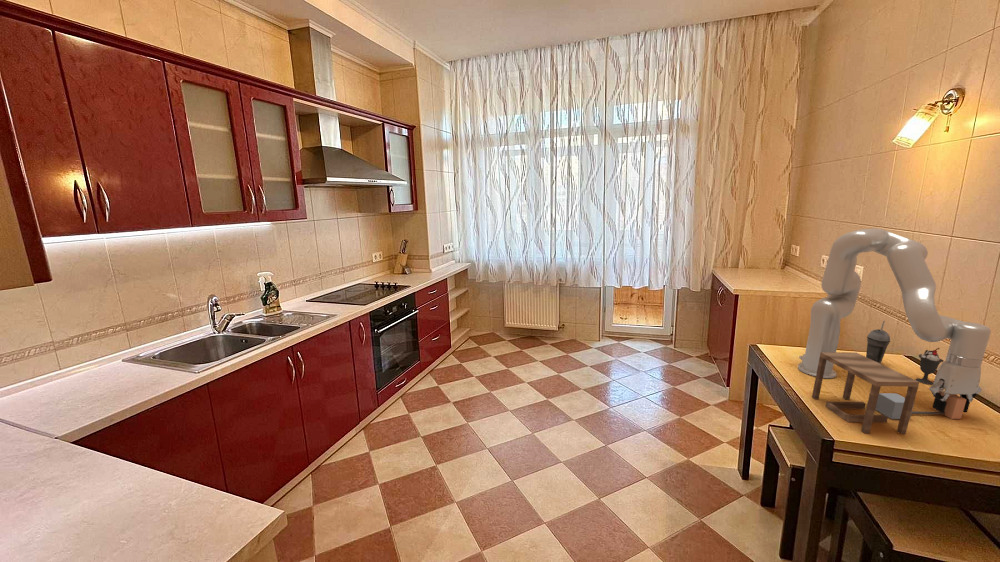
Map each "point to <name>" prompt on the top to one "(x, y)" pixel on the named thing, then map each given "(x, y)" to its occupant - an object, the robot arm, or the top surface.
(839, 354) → the wooden side table
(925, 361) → the sundae
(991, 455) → the top surface
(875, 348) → the beverage cup
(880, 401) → the lopsided dumbbell
